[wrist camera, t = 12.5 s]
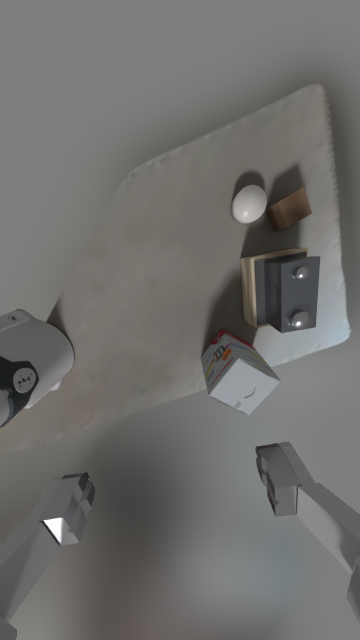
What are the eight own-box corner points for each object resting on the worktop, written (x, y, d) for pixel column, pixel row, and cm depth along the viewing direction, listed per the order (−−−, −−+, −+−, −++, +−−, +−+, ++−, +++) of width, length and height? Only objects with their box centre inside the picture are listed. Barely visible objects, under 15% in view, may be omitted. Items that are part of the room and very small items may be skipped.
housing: (263, 262, 28) (285, 263, 23) (296, 256, 28) (326, 256, 23) (265, 321, 32) (285, 335, 26) (294, 316, 32) (320, 329, 26)
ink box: (221, 327, 38) (239, 356, 27) (253, 346, 39) (284, 381, 28) (198, 359, 40) (207, 398, 29) (230, 375, 42) (250, 418, 30)
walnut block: (273, 231, 32) (287, 227, 28) (265, 208, 31) (278, 202, 27) (295, 218, 32) (311, 213, 28) (287, 195, 30) (303, 186, 27)
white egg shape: (231, 226, 32) (236, 224, 29) (229, 193, 30) (233, 188, 28) (260, 221, 32) (267, 218, 29) (259, 187, 30) (266, 181, 28)
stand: (244, 319, 37) (255, 328, 32) (240, 258, 33) (251, 258, 28) (288, 311, 37) (306, 320, 32) (289, 248, 33) (310, 247, 28)
